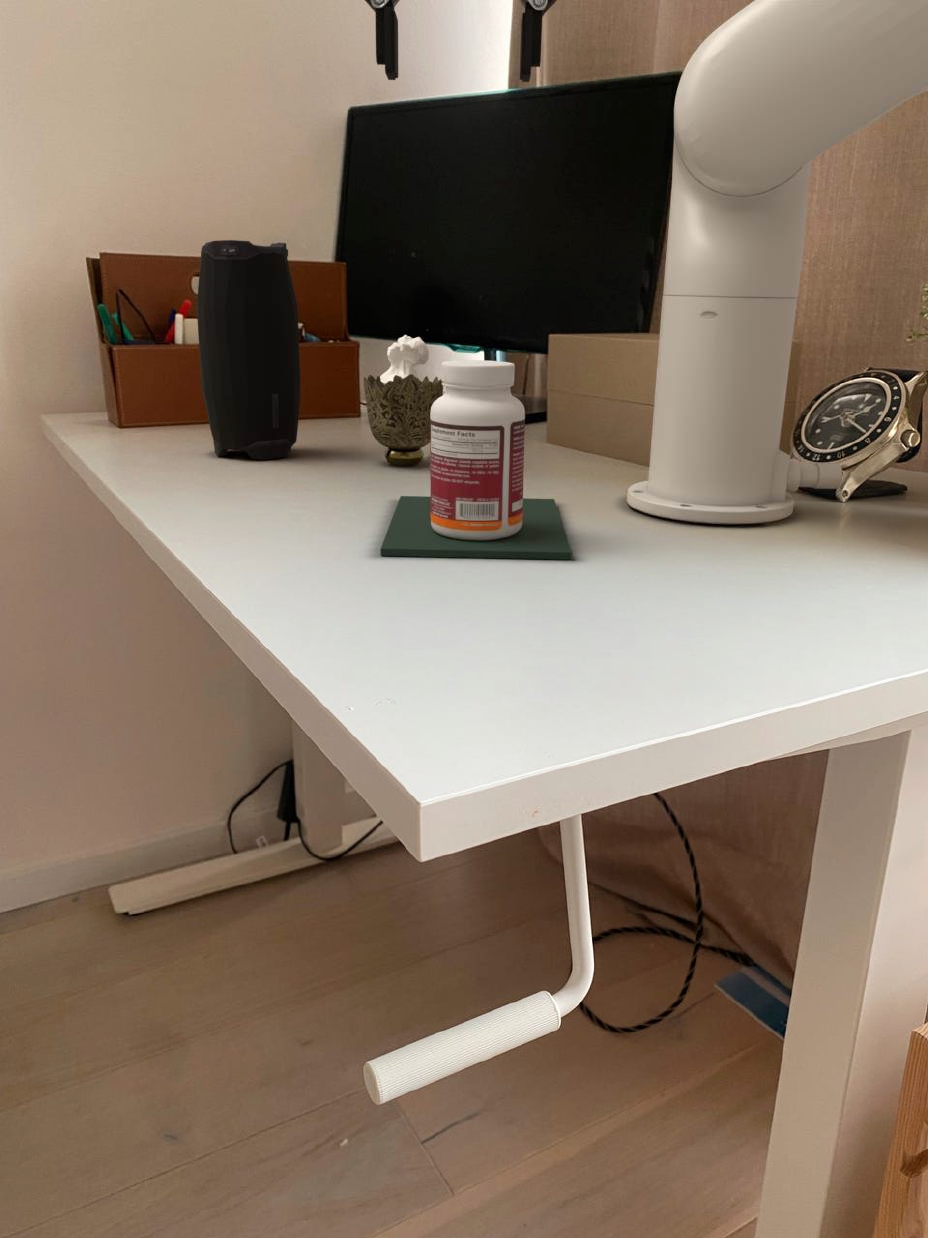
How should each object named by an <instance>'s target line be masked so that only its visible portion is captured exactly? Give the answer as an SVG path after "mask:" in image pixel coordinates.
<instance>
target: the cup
mask: <svg viewBox="0 0 928 1238" xmlns="http://www.w3.org/2000/svg"><path fill="white" fill-rule="evenodd" d="M380 376H381V375H380ZM380 376H379V375H377V377H374V376H373V375H371V374H369V375H368V376H367V378H366V377H365V376H364V377H363V387H364V395H365V404H366V411H367V419H368V424H369V427H370V428H369V429H370V431H371V433H372V436H373V437H374V439H375V441H377V442H378V443H379V444H380V445H381V446H383V447H386V449H385V451H384V458H385V461H386V462H387V463H388V464H389V465H392V466H396V467H397V466H399V467H412V466H417V465H419V464H421V463H422V461H423V459H424V456H425V455H424V451H423V449H422V448H423V447H426V446H427V445H429V444H430V412H431V407H432V405H433V403H434V402H435V401H436V400H437V399H438V398H439V397H441V396H443V395H444V387H445V386H444V385H442V381H441V378H440V379H439V378H438V376H435V377H434V379H433V380H432V381H430V379H429V377H428V375H426V376H425V377H424V378H423V380H421V379H420V378H419V379H420V380H421V381H422V382H421V381H420V380H419V379H418V378H416V377H415V376H414V375H413V374H410V375H408V376H407V377H405V378H404V379H402V378H401V377H400V376H397V375H395V376H394V378H393V381H388V382H387V383H383V382H381V380H380ZM384 384H385V385H384Z"/></svg>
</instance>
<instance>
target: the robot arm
mask: <svg viewBox="0 0 928 1238" xmlns="http://www.w3.org/2000/svg"><path fill="white" fill-rule="evenodd" d="M518 1H519V3H520V4H521V5H522V7H523V8H524V12H522V14H521V22H520V51H519V81H521V82H522V83H529V82H530V79H531V75H532V68H540V67H541V64H542V63H541V62H542V61H541V60H542V39H543V38H542V37H543V18H544V17H545V15H546V13H547V12H548V11H549V10H550V9H551V8H552V6H553V5H554V4H555V3H556V2H557V1H558V0H518ZM364 2H366V4H367V5H368V6H369V7H370V8H371V9H372V10H373V11H374V13H375V62H376V64H377V65H378V66H379V65H380V66H384V73H385V75H386V78H387V80H388V81H396V79H399V19H398V15H397V13H396V10H395V8H396V6H397V5H398V4H399V2H400V0H364ZM926 92H928V0H753V1H752V2H750V3H749V4H748V5H746V6H745V7H743V8H742V9H740V10H739V11H738V12H737V13H735V14H734V15H733V16H731V17H729V18H728V19H727V20H726V21H725V22H723V23H722V24H721V25H719V26H718V27H717V28H716V29H715V30H713V32H711V33H710V34H709V35H708V36H707V37H706V38H705V39H704V40H703V42H702V43H700V44H699V46H698V47H697V49H696V50H695V51H694V52H693V54H692V55H691V57H690V59H689V60H688V61H687V63H686V66H685V68H684V70H683V72H682V74H681V76H680V79H679V81H678V85H677V90H676V93H675V98H674V106H673V148H672V149H673V150H672V151H673V152H672V171H671V172H672V173H671V178H672V179H671V188H670V189H671V190H670V204H669V205H670V206H669V216H668V228H667V238H666V239H667V240H666V252H665V254H666V255H665V256H666V257H665V265H664V278H663V289H662V290H663V292H662V300H661V310H660V311H661V312H660V323H659V324H660V326H659V336H658V337H659V338H658V350H657V351H658V352H657V363H656V376H655V387H654V388H655V389H654V400H653V402H654V403H653V413H652V427H651V428H652V429H651V439H650V440H651V441H650V453H649V465H648V466H649V467H648V478H647V480H644V481H643V480H642V481H639V482H636V483H633V484H631V485H630V486H629V487H628V488H627V491H626V493H627V495H626V503H627V505H628V506H630V507H631V508H633V509H634V510H636V511H638V512H641V513H644V514H647V515H651V516H655V517H659V518H663V519H669V520H673V521H681V522H690V523H697V524H698V523H699V524H714V525H755V524H764V523H773V522H777V521H781V520H784V519H787V518H788V517H790V516H791V515H792V514H793V512H794V507H795V498H794V496H792V495H790V494H789V493H797V491H798V489H799V488H812V489H814V490H815V489H816V490H838V489H839V488H840V487H841V484H842V481H843V467H842V465H841V464H840V463H833V462H831V463H830V462H827V463H826V462H814V461H808V460H806V461H805V460H804V461H803V460H799V459H798V458H791V455H790V454H788V453H787V452H785V451H782V450H781V449H780V445H781V436H782V430H783V429H782V428H783V420H784V411H785V405H786V404H785V403H786V394H787V388H788V387H787V386H788V378H789V377H788V376H789V369H790V362H791V354H792V346H793V345H792V344H793V337H794V328H795V320H796V319H795V318H796V310H797V303H798V298H799V293H800V292H799V291H800V283H801V275H802V268H803V267H802V266H803V256H804V249H805V248H804V247H805V239H806V226H807V214H808V202H809V191H810V180H811V178H810V177H811V170H812V163H813V160H814V159H816V158H818V157H820V156H821V155H822V154H824V153H826V152H827V151H829V150H830V149H832V148H833V147H836V146H837V145H839V144H841V143H842V142H844V141H845V140H847V139H848V138H850V137H851V136H853V135H854V134H857V133H858V132H859V131H861V130H862V129H864V128H866V127H868V126H869V125H871V124H872V123H873V122H875V121H877V120H879V119H880V118H881V117H883V116H884V115H886V114H888V113H890V112H891V111H893V110H894V109H896V108H898V107H899V106H901V105H902V104H904V103H905V102H907V101H909V100H910V99H913V98H915V97H917V96H919V95H922V94H925V93H926Z"/></svg>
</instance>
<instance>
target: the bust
mask: <svg viewBox="0 0 928 1238" xmlns="http://www.w3.org/2000/svg"><path fill="white" fill-rule="evenodd" d="M429 353H430V351H429V348H428V346H427V344H426V343H425V341H423V339H422V338H421V337H420V336H417V337H415V338H413V337H411V336H408V335H407V334H404V335H403V336H402V337H399V338H398V339H397V342H393V343H392V344H391V345H390V346H388V347H387V351H386V355H387V360H388V361H389V363H390V366H389V368H388V369H387V370H386V371H384V372H383V373H382V374H381V375H380V380H381V382H383V383H387V382H388V381H393V378H394V376H395V375H397V376H400V377H401V378H402V379H404V378H405V377H407V376H408V375H410V374H413V375H414V376H415V377H416V378H418V379H419V380H420V381H421V382H422V381H423V380H421V379H420V377H419V376H418V374H417V370H416V369H415V367H416V366H419V365H425V364H426V363H427V362H428V361H429V358H430V354H429ZM384 385H385V384H384Z"/></svg>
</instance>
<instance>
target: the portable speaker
mask: <svg viewBox="0 0 928 1238" xmlns="http://www.w3.org/2000/svg"><path fill="white" fill-rule="evenodd" d="M288 257H289V249H288V247H287V242H275V243H271V244H269V245H258V244H253V243H252V242H251V241H250V240H238V239H237V240H235V239H225V240H223V239H222V240H211V241H207V242H205V244H204V245H202V246H201V251H200V261H199V262H200V263H199V274H198V285H197V286H198V287H197V295H196V296H197V298H196V318H197V333H198V334H197V335H198V351H199V365H200V378H201V379H200V380H201V383H200V384H201V393H202V398H203V403H204V407H205V412H206V415H207V419H208V425H209V429H210V433H211V437H212V440H213V448H214V449H213V450H214V453H215V455H216V456H217V457H226V455H227V453H228V451H237V452H239V451H240V452H246V453H247V455H248V456H249V457H250V459H253V460H257V461H258V460H259V461H262V460H263V461H264V460H271V459H281V458H286V457H289V455H290V453H291V449H292V448H293V446H294V444H296V443H297V441H298V439H297V438H298V430H299V419H300V408H301V359H300V335H299V315H298V314H299V313H298V302H297V296H296V291H295V289H294V283H293V278H292V274H291V269H290V265H289V260H288V259H289V258H288Z"/></svg>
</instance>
